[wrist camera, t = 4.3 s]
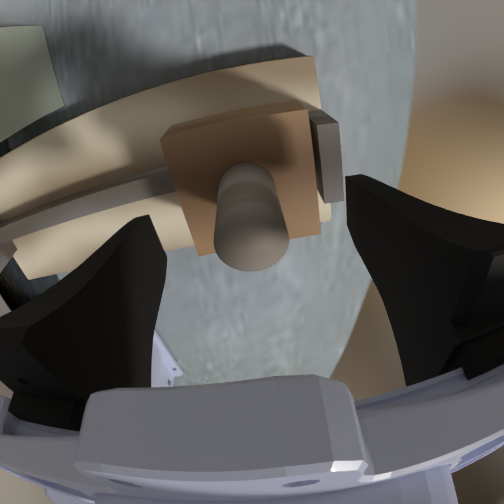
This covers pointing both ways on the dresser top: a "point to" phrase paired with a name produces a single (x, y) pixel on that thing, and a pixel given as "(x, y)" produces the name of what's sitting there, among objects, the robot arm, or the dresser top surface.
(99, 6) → the dresser top surface
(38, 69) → the cabinet
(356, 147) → the dresser top surface
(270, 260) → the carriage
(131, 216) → the rail board
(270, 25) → the dresser top surface
